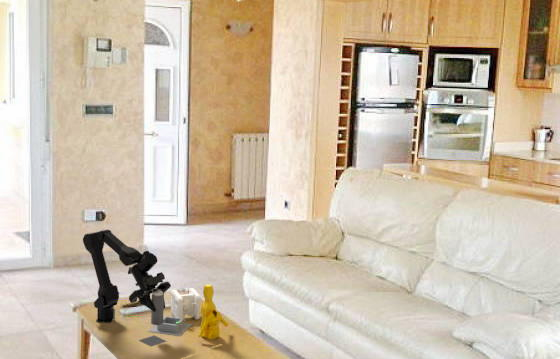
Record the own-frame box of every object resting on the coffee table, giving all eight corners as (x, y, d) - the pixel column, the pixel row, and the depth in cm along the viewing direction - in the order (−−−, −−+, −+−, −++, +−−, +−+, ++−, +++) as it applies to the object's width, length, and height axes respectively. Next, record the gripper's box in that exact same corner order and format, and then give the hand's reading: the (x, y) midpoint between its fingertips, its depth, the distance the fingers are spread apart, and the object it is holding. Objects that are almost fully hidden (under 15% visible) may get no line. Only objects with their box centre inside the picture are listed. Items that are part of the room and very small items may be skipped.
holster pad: (138, 341, 276) (138, 340, 276) (154, 336, 282) (154, 335, 282) (150, 347, 270) (150, 346, 270) (166, 342, 276) (166, 341, 276)
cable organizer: (200, 322, 300) (201, 297, 299) (177, 324, 296) (178, 299, 295) (191, 310, 314) (192, 286, 312) (169, 312, 310) (169, 288, 308)
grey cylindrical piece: (148, 322, 277) (149, 292, 274) (157, 319, 280) (158, 289, 278) (156, 326, 274) (157, 295, 272) (165, 322, 278) (166, 292, 275)
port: (148, 332, 285) (148, 322, 285) (161, 321, 299) (162, 311, 298) (179, 337, 282) (180, 327, 282) (191, 325, 296) (192, 316, 295)
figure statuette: (202, 345, 275) (204, 293, 272) (188, 340, 280) (190, 289, 277) (231, 333, 289) (233, 284, 286) (217, 328, 294) (219, 279, 291)
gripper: (134, 271, 268) (152, 305, 264) (168, 262, 283) (186, 294, 279) (120, 286, 274) (138, 319, 270) (155, 276, 289) (172, 307, 284)
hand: (159, 309), depth 275 cm, fingers closed on grey cylindrical piece, 5 cm apart
